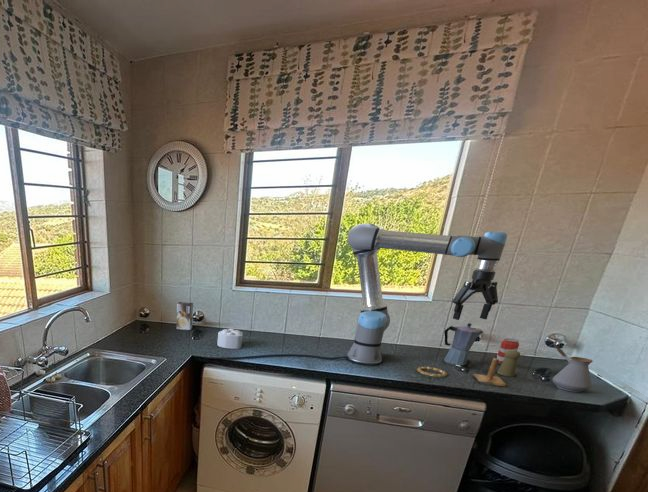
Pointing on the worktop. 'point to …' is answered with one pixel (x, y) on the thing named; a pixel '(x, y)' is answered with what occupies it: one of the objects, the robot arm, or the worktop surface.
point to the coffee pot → (573, 374)
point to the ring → (432, 369)
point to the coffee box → (184, 315)
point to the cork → (509, 363)
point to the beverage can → (506, 348)
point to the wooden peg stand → (491, 375)
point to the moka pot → (460, 344)
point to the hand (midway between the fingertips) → (469, 319)
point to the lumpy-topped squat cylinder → (230, 339)
